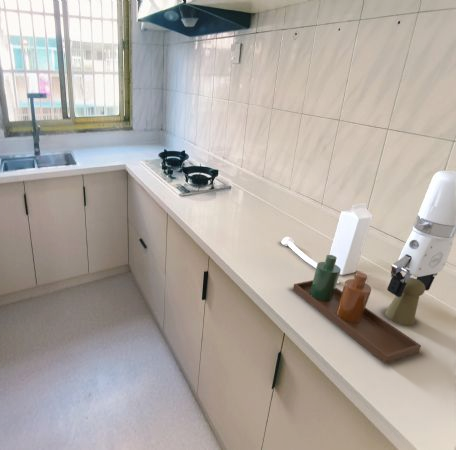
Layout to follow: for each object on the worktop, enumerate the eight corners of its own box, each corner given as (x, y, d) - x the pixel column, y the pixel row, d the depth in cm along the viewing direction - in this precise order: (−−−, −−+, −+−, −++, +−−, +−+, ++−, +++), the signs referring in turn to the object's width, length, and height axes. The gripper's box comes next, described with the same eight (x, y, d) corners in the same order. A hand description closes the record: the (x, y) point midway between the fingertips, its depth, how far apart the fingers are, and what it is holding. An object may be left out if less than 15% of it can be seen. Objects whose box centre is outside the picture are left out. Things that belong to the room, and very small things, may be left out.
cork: (401, 309, 88) (416, 273, 84) (419, 325, 83) (436, 287, 79) (380, 309, 88) (393, 273, 84) (396, 325, 83) (411, 287, 78)
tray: (320, 284, 98) (322, 278, 98) (418, 353, 74) (421, 345, 73) (292, 290, 95) (294, 283, 94) (385, 364, 71) (388, 356, 70)
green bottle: (321, 288, 95) (331, 250, 91) (337, 299, 91) (348, 260, 86) (305, 291, 94) (315, 253, 89) (320, 303, 89) (331, 263, 84)
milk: (355, 272, 106) (377, 206, 97) (341, 275, 103) (362, 208, 94) (338, 262, 111) (358, 199, 102) (325, 266, 108) (344, 201, 99)
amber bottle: (347, 307, 88) (360, 267, 83) (366, 320, 83) (381, 279, 78) (330, 311, 86) (343, 270, 81) (349, 325, 81) (363, 283, 76)
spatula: (346, 283, 99) (349, 275, 98) (335, 285, 98) (337, 277, 97) (289, 242, 124) (290, 235, 123) (279, 242, 123) (280, 235, 122)
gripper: (426, 238, 69) (397, 305, 76) (478, 229, 75) (447, 293, 82) (392, 223, 76) (368, 287, 83) (442, 217, 82) (416, 277, 89)
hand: (407, 290), depth 82 cm, fingers open, 9 cm apart
